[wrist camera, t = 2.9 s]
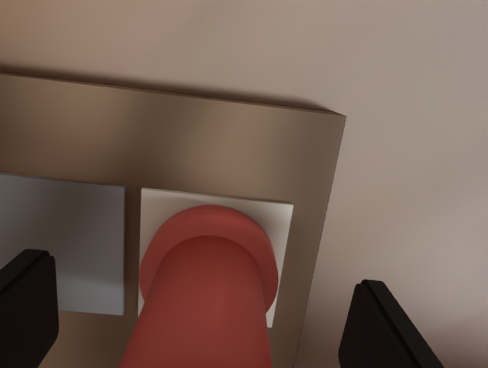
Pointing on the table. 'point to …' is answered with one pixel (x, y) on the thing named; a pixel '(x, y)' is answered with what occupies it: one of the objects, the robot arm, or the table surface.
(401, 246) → the table surface
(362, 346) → the robot arm
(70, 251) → the board
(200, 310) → the pawn
